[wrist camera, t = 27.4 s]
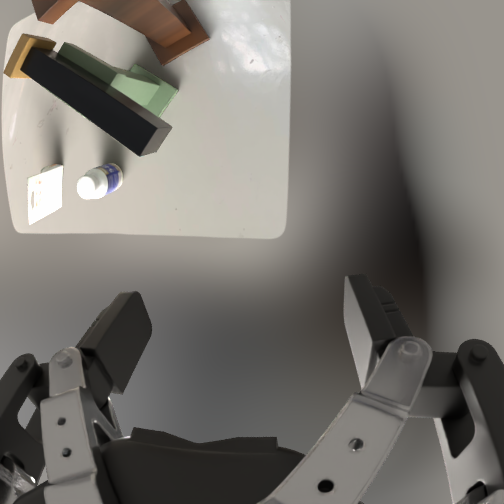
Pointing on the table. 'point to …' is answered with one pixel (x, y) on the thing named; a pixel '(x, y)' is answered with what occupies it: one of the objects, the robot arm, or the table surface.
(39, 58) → the bar
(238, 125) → the table surface
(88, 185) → the pill bottle
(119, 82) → the green piece
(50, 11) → the tall stand
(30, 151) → the table surface
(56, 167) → the ink box
